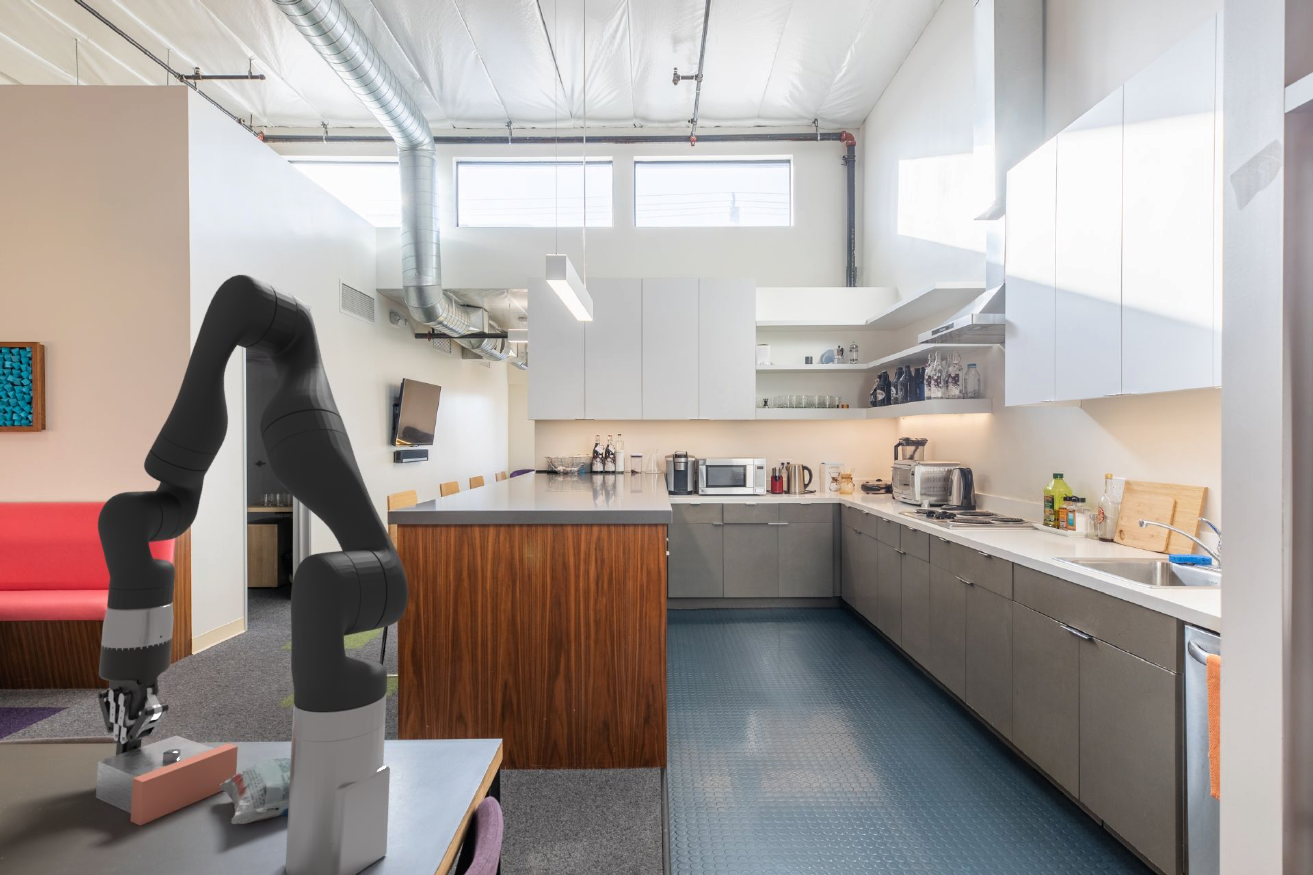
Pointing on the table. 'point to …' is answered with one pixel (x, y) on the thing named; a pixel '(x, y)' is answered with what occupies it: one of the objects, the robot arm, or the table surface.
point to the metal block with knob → (140, 767)
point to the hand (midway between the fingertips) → (126, 767)
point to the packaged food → (260, 791)
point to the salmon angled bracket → (181, 783)
